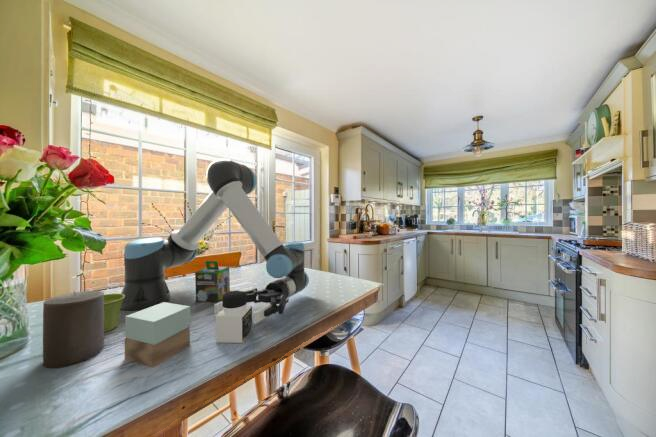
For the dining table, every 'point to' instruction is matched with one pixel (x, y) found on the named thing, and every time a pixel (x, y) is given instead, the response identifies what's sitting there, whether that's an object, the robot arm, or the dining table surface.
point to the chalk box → (212, 282)
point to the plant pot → (112, 310)
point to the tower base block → (156, 349)
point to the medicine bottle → (234, 318)
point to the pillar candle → (72, 328)
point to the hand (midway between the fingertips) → (233, 313)
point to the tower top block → (157, 322)
